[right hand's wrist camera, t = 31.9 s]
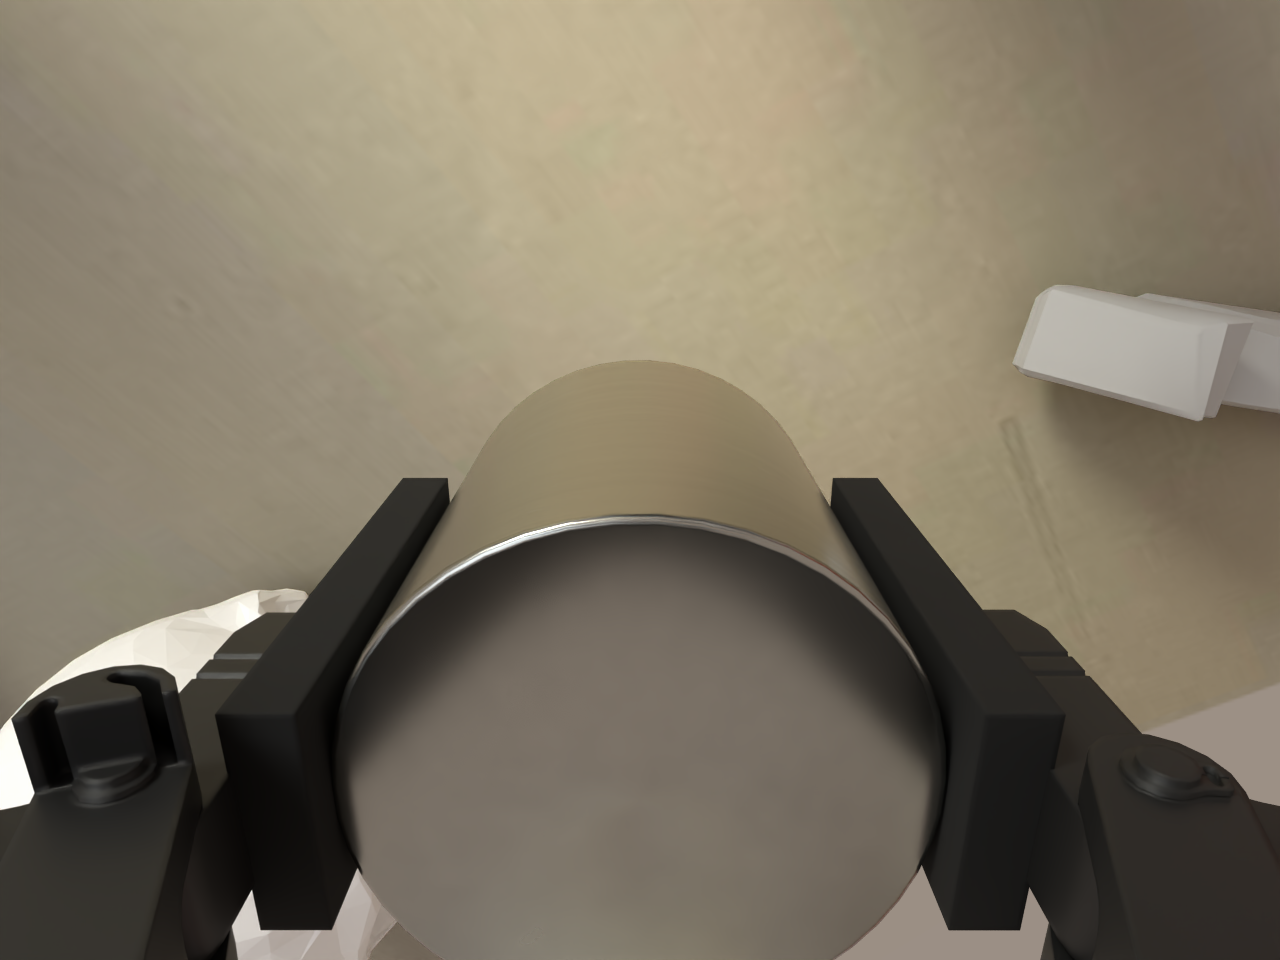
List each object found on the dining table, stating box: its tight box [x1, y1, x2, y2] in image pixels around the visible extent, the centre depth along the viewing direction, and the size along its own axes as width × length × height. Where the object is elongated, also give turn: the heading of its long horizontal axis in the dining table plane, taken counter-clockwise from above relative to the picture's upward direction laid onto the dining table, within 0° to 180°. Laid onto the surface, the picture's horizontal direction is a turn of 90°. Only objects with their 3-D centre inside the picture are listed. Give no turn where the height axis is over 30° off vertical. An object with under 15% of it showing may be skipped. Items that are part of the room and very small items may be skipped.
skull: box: [0, 589, 397, 960], centre depth 32 cm, size 13×22×16 cm, turn 94°
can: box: [331, 360, 946, 960], centre depth 12 cm, size 6×6×7 cm
